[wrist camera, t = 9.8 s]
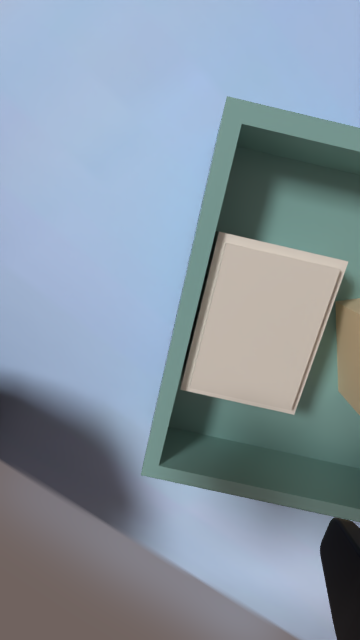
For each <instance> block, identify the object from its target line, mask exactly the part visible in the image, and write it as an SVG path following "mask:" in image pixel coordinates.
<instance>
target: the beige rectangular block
mask: <svg viewBox="0 0 360 640" xmlns="http://www.w3.org/2000/svg"><path fill="white" fill-rule="evenodd" d="M347 264H348V261H344V260H340V259H335V258H331V257H327V256H323V255H318V254H314V253H310V252H305V251H301V250H297V249H292V248H288V247H284V246H279V245H275V244H271V243H266V242H262V241H258V240H253V239H249V238H245V237H240V236H236V235H232V234H227V233H223V232H219V231H216V232H215V236H214V240H213V244H212V248H211V252H210V256H209V261H208V265H207V269H206V273H205V277H204V281H203V285H202V289H201V294H200V298H199V302H198V306H197V310H196V314H195V318H194V322H193V327H192V331H191V335H190V339H189V343H188V347H187V351H186V355H185V359H184V364H183V368H182V376H181V388H180V390H184V391H189V392H193V393H198V394H202V395H207V396H212V397H216V398H221V399H225V400H230V401H234V402H239V403H243V404H248V405H252V406H257V407H261V408H266V409H270V410H275V411H279V412H284V413H288V414H293V415H294V414H295V411H296V408H297V405H298V402H299V400H300V397H301V394H302V391H303V388H304V386H305V383H306V380H307V377H308V374H309V371H310V369H311V366H312V363H313V360H314V357H315V355H316V352H317V349H318V346H319V343H320V340H321V338H322V335H323V332H324V329H325V326H326V324H327V321H328V318H329V315H330V312H331V309H332V307H333V304H334V301H335V298H336V295H337V293H338V290H339V287H340V284H341V281H342V278H343V276H344V273H345V270H346V267H347Z"/></svg>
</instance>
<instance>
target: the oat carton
mask: <svg viewBox="0 0 360 640" xmlns="http://www.w3.org/2000/svg"><path fill="white" fill-rule="evenodd" d="M335 306H336V337H337V369H338V391H339V392H340V394H341V395H342V396H343V397H344V398H345V399H346V400H347V402H348V403H349V404H350V405H351V406H352V407H353V408H354V410H355V411H356V412H357V413H358V414H359V415H360V298H357V299H350V300H342V301H335Z"/></svg>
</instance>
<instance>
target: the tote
mask: <svg viewBox="0 0 360 640" xmlns="http://www.w3.org/2000/svg"><path fill="white" fill-rule="evenodd" d="M216 231H219V232H223V233H227V234H232V235H236V236H240V237H245V238H249V239H253V240H258V241H262V242H266V243H271V244H275V245H279V246H284V247H288V248H292V249H297V250H301V251H305V252H310V253H314V254H318V255H323V256H327V257H331V258H335V259H340V260H344V261H348V264H347V267H346V270H345V273H344V276H343V278H342V281H341V284H340V287H339V290H338V293H337V295H336V298H335V301H342V300H350V299H357V298H360V128H357V127H353V126H349V125H345V124H341V123H336V122H332V121H328V120H324V119H320V118H315V117H311V116H307V115H303V114H299V113H295V112H290V111H286V110H282V109H278V108H274V107H269V106H265V105H261V104H257V103H253V102H249V101H244V100H240V99H236V98H232V97H228V96H227V99H226V103H225V107H224V111H223V115H222V119H221V123H220V126H219V131H218V135H217V139H216V144H215V148H214V153H213V157H212V161H211V166H210V170H209V175H208V179H207V183H206V188H205V192H204V197H203V201H202V205H201V210H200V214H199V219H198V223H197V227H196V232H195V236H194V241H193V245H192V249H191V254H190V258H189V263H188V267H187V271H186V276H185V280H184V285H183V289H182V293H181V298H180V302H179V307H178V311H177V315H176V320H175V324H174V329H173V333H172V337H171V342H170V346H169V351H168V355H167V359H166V364H165V368H164V373H163V377H162V382H161V386H160V390H159V395H158V399H157V404H156V408H155V412H154V417H153V421H152V426H151V430H150V435H149V439H148V444H147V449H146V454H145V458H144V463H143V468H142V472H141V475H143V476H147V477H152V478H157V479H161V480H166V481H171V482H175V483H180V484H185V485H189V486H194V487H199V488H203V489H208V490H213V491H217V492H222V493H226V494H231V495H236V496H240V497H245V498H250V499H254V500H259V501H264V502H268V503H273V504H278V505H282V506H287V507H292V508H296V509H301V510H305V511H310V512H315V513H319V514H324V515H329V516H333V517H338V518H343V519H347V520H352V521H357V522H360V415H359V414H358V413H357V412H356V411H355V410H354V408H353V407H352V406H351V405H350V404H349V403H348V402H347V400H346V399H345V398H344V397H343V396H342V395H341V394H340V392H339V391H338V369H337V337H336V306H335V301H334V304H333V307H332V309H331V312H330V315H329V318H328V321H327V324H326V326H325V329H324V332H323V335H322V338H321V340H320V343H319V346H318V349H317V352H316V355H315V357H314V360H313V363H312V366H311V369H310V371H309V374H308V377H307V380H306V383H305V386H304V388H303V391H302V394H301V397H300V400H299V402H298V405H297V408H296V411H295V414H294V415H293V414H288V413H284V412H279V411H275V410H270V409H266V408H261V407H257V406H252V405H248V404H243V403H239V402H234V401H230V400H225V399H221V398H216V397H212V396H207V395H202V394H198V393H193V392H189V391H184V390H180V388H181V376H182V368H183V364H184V359H185V355H186V351H187V347H188V343H189V339H190V335H191V331H192V327H193V322H194V318H195V314H196V310H197V306H198V302H199V298H200V294H201V289H202V285H203V281H204V277H205V273H206V269H207V265H208V261H209V256H210V252H211V248H212V244H213V240H214V236H215V232H216Z"/></svg>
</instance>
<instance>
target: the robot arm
mask: <svg viewBox="0 0 360 640" xmlns="http://www.w3.org/2000/svg"><path fill="white" fill-rule="evenodd" d="M320 555H321V561H322V566H323V571H324V577H325V582H326V587H327V592H328V598H329V603H330V608H331V614H332V619H333V624H334V628H335V633H336V637H337V640H360V528H359V527H358V526H357V525H356V524H354V523H353V522H352V521H350V520H346V519H341V518H333V519H332V520H331V521H330V523H329V526H328V528H327V530H326V532H325V535H324V537H323V539H322V542H321V546H320Z"/></svg>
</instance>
